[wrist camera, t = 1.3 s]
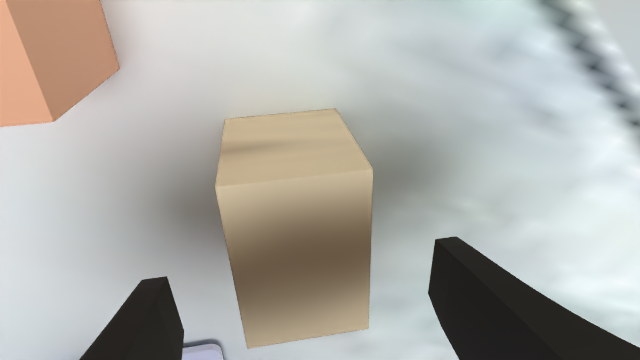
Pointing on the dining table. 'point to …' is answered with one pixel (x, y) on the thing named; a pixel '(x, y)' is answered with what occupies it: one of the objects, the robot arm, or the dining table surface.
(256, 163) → the beech brick
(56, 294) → the dining table surface
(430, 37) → the dining table surface
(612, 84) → the dining table surface
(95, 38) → the terracotta brick
